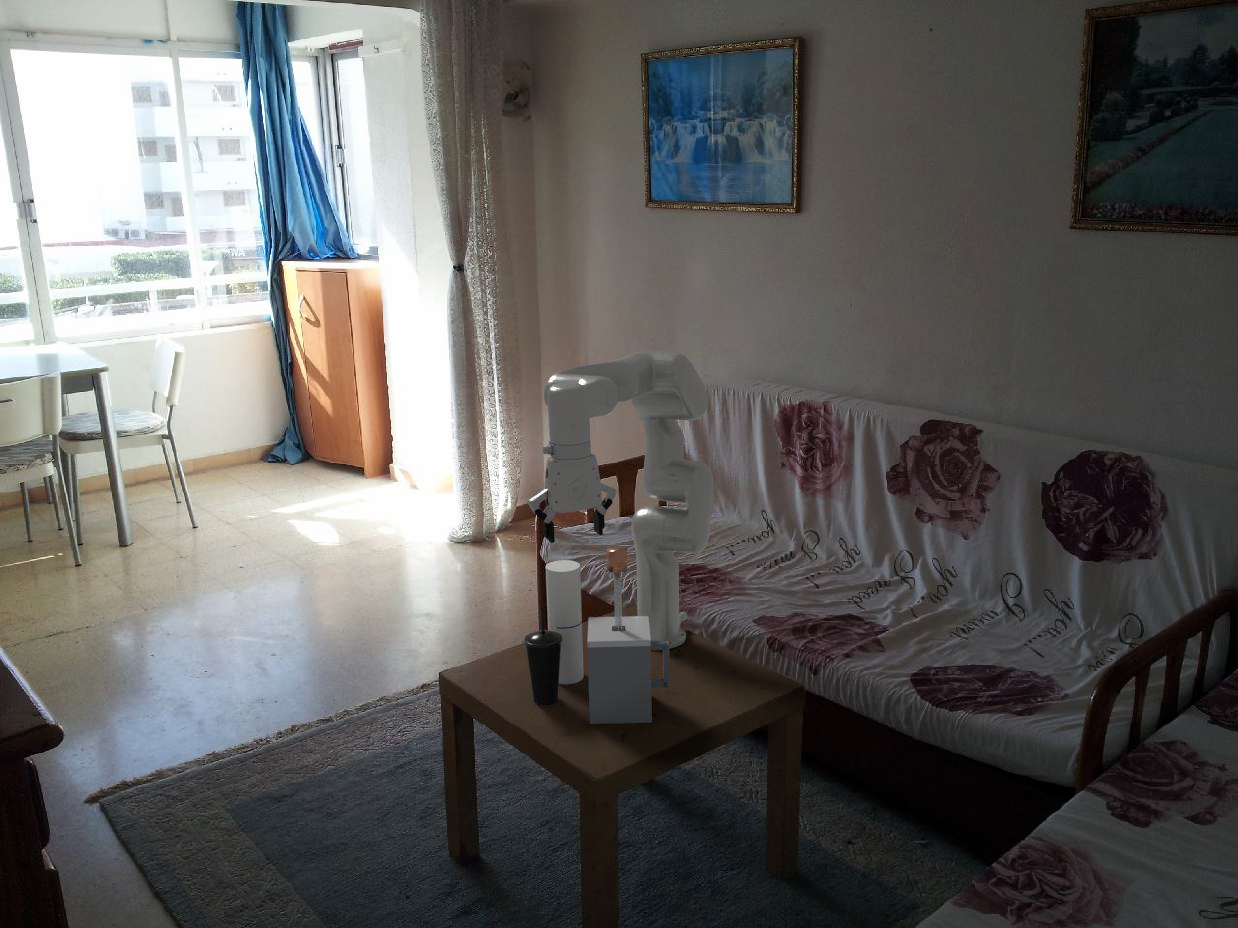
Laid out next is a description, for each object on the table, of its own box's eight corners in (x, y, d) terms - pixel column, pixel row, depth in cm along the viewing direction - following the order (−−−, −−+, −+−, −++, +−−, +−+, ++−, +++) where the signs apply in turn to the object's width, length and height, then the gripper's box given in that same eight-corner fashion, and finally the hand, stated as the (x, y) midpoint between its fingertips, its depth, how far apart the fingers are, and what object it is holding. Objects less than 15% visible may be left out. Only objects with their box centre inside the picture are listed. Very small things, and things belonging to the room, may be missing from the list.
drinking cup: (538, 712, 212) (533, 618, 207) (520, 697, 218) (516, 606, 213) (571, 702, 216) (568, 609, 211) (553, 688, 222) (549, 598, 217)
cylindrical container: (579, 685, 223) (575, 572, 217) (546, 682, 225) (541, 570, 219) (587, 670, 230) (583, 560, 224) (554, 668, 231) (550, 559, 225)
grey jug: (589, 723, 207) (587, 641, 203) (590, 695, 218) (588, 617, 214) (671, 721, 207) (670, 639, 203) (668, 693, 218) (667, 615, 214)
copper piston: (596, 671, 206) (593, 557, 200) (596, 652, 215) (593, 542, 209) (642, 670, 206) (641, 556, 200) (641, 651, 215) (639, 541, 209)
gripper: (531, 460, 192) (536, 550, 196) (621, 448, 198) (624, 535, 202) (520, 451, 199) (525, 537, 203) (606, 439, 204) (610, 524, 209)
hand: (574, 536), depth 203 cm, fingers open, 9 cm apart
